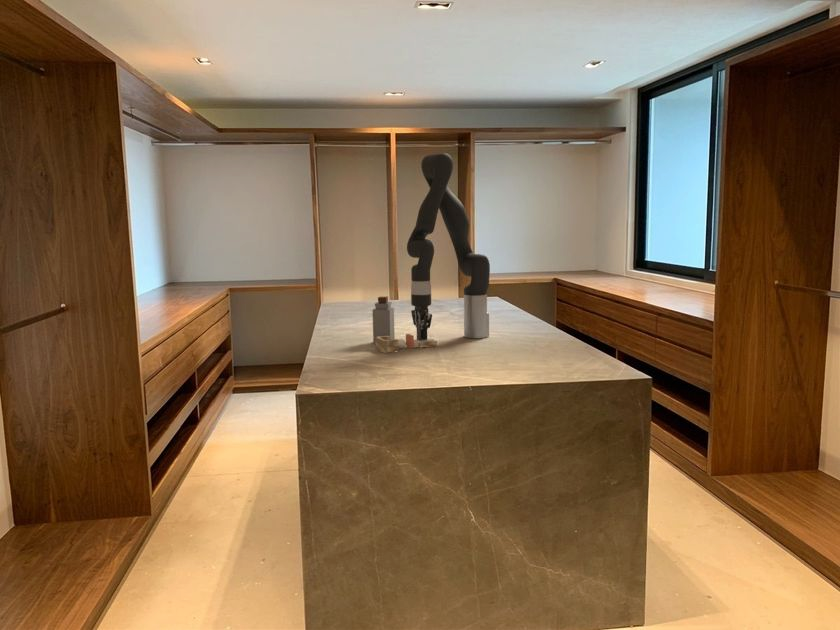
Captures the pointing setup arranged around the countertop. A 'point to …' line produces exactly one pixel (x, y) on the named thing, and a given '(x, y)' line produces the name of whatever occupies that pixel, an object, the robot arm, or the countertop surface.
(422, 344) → the rail guide
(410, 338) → the gray block
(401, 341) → the ball
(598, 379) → the countertop surface
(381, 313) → the perfume bottle
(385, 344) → the box
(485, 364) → the countertop surface
